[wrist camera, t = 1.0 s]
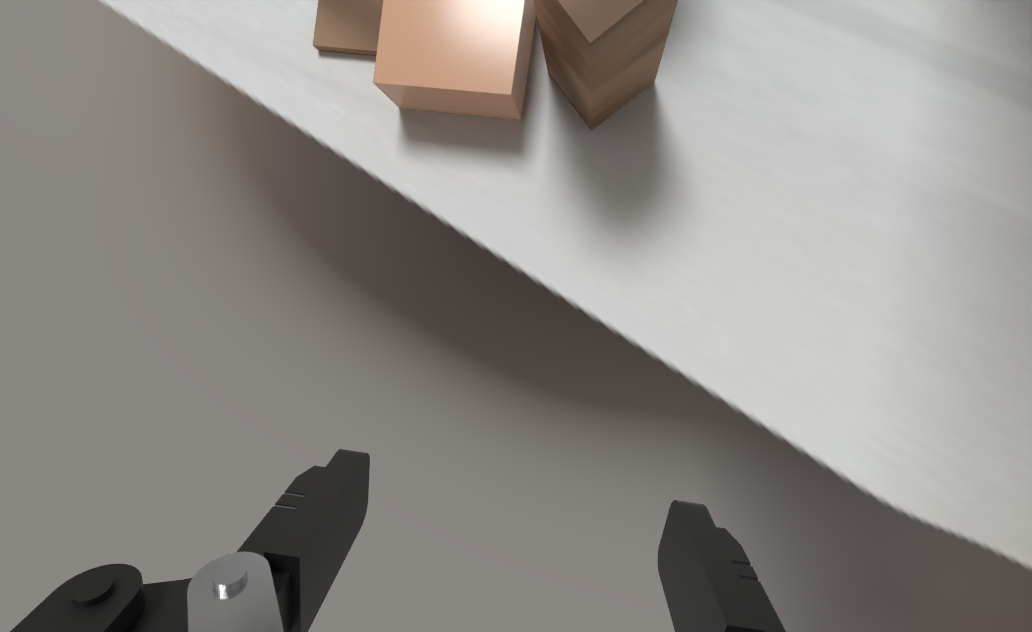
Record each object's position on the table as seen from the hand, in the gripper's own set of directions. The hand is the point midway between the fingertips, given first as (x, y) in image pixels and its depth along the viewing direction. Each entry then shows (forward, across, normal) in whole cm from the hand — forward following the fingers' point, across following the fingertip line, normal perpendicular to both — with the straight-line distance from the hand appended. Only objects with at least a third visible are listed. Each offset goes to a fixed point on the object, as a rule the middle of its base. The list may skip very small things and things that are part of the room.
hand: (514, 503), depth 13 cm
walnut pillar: (+21, -2, -14) cm, 26 cm away
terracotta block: (+23, +6, -15) cm, 28 cm away
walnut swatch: (+24, +13, -17) cm, 32 cm away
